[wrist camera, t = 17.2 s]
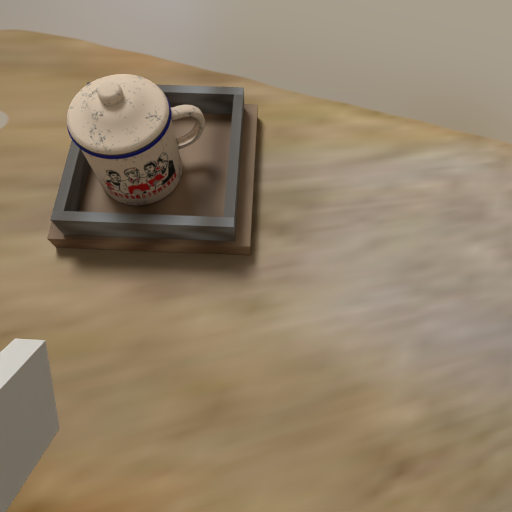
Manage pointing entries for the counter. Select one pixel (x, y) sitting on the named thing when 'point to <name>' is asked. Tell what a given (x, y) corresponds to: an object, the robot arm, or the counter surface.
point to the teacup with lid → (131, 136)
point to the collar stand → (184, 194)
